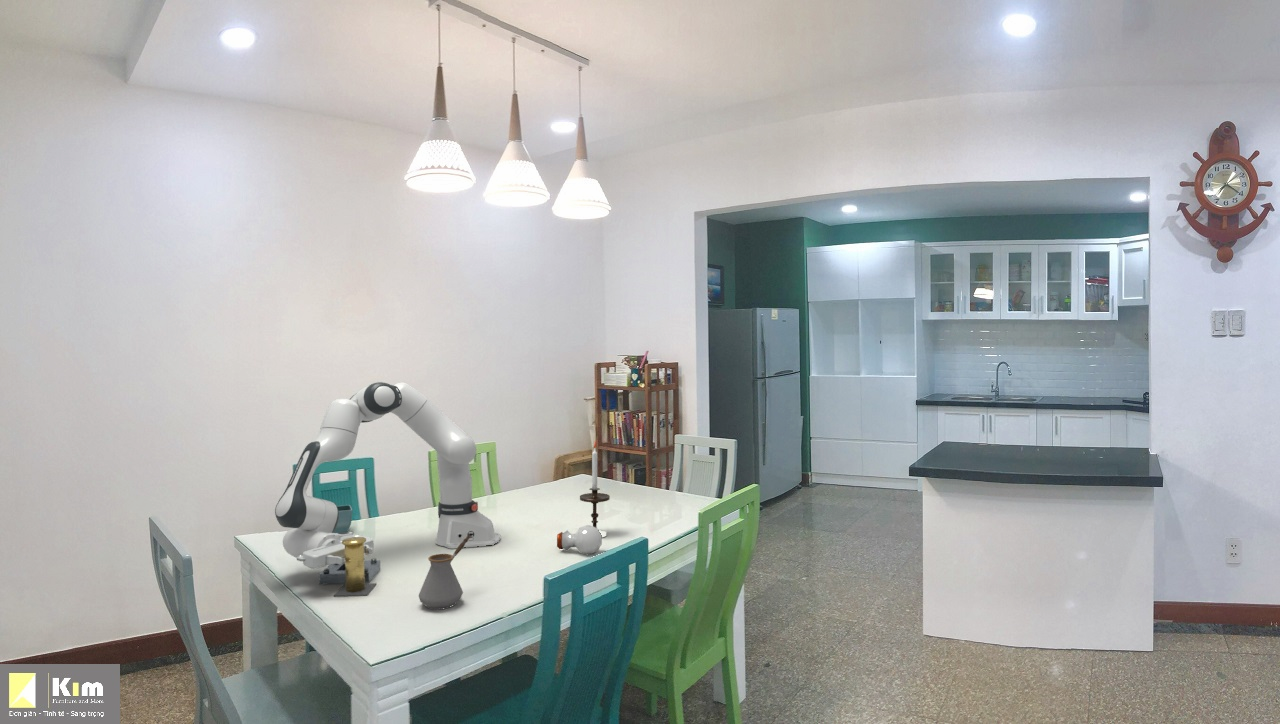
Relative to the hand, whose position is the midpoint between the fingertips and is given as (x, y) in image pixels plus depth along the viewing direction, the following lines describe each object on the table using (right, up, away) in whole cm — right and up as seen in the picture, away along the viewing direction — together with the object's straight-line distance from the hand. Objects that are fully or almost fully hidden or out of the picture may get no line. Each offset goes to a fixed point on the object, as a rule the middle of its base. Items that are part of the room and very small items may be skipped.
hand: (357, 556), depth 201 cm
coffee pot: (+28, -10, -5) cm, 30 cm away
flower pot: (-31, -8, +61) cm, 69 cm away
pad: (-1, -10, +1) cm, 10 cm away
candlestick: (+63, -9, +58) cm, 87 cm away
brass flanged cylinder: (-1, -9, +1) cm, 10 cm away
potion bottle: (+60, -9, +37) cm, 71 cm away
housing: (-7, -10, +12) cm, 17 cm away
